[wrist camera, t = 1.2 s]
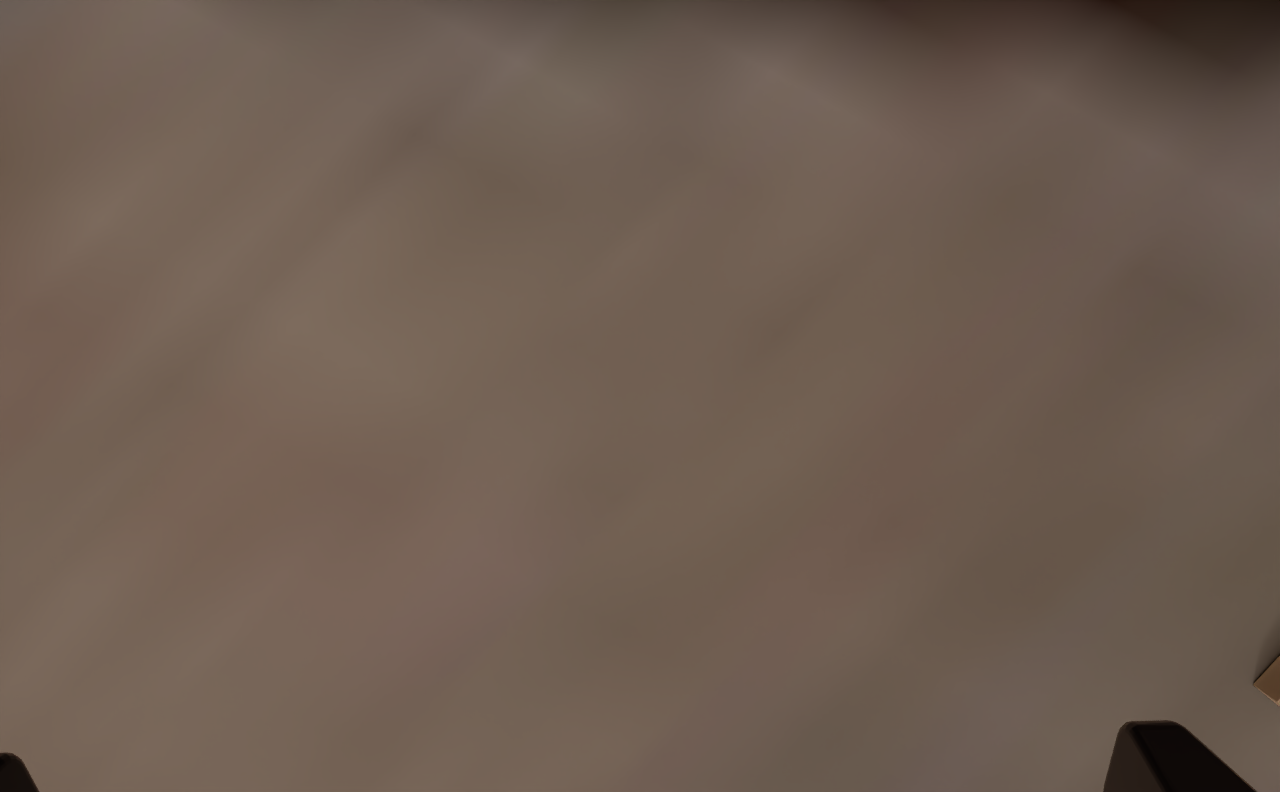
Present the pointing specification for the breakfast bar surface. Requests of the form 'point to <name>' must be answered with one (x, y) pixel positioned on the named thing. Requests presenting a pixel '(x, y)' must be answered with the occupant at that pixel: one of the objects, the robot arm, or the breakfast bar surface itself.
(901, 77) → the breakfast bar surface
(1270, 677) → the wooden tray
